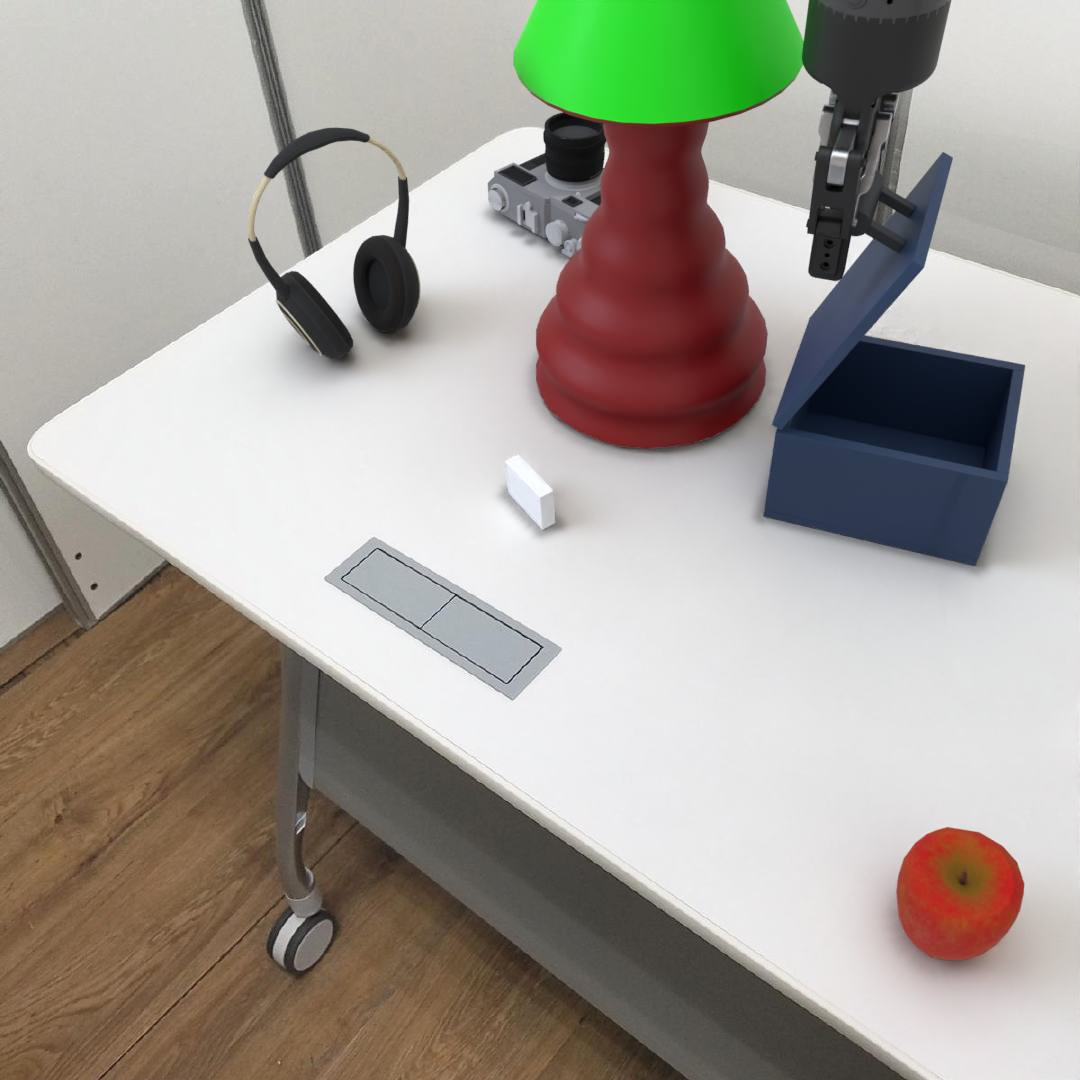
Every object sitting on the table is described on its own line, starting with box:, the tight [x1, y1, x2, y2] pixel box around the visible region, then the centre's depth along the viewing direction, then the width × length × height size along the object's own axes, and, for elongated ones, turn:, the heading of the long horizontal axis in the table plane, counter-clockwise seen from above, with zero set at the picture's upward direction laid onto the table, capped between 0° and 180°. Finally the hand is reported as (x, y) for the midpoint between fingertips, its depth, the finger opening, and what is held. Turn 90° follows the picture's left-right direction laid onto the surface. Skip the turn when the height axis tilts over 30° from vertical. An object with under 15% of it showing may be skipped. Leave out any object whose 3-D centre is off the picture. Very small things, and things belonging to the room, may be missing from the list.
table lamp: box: [512, 0, 804, 450], centre depth 78 cm, size 20×20×45 cm
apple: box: [895, 826, 1025, 961], centre depth 60 cm, size 6×6×8 cm
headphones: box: [247, 127, 421, 359], centre depth 93 cm, size 9×15×20 cm, turn 125°
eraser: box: [504, 454, 556, 531], centre depth 84 cm, size 1×5×4 cm, turn 34°
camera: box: [487, 112, 607, 259], centre depth 107 cm, size 18×10×10 cm
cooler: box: [763, 334, 1026, 567], centre depth 82 cm, size 16×13×9 cm
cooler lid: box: [771, 151, 954, 430], centre depth 74 cm, size 16×13×5 cm
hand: (835, 246), depth 72 cm, fingers open, 6 cm apart
